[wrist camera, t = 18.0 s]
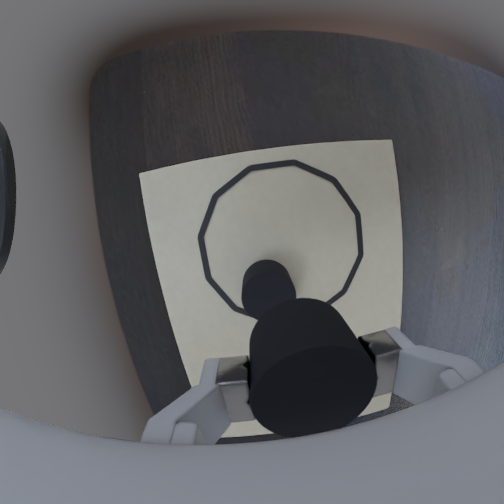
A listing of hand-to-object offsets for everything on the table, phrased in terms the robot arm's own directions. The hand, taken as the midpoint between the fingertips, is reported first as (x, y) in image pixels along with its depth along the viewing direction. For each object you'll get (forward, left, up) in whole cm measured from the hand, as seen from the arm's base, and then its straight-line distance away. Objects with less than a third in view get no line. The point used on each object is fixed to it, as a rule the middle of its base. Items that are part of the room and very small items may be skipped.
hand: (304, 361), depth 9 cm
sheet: (+1, -6, -15) cm, 16 cm away
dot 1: (0, 0, -2) cm, 2 cm away
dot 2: (-1, -2, -14) cm, 14 cm away
